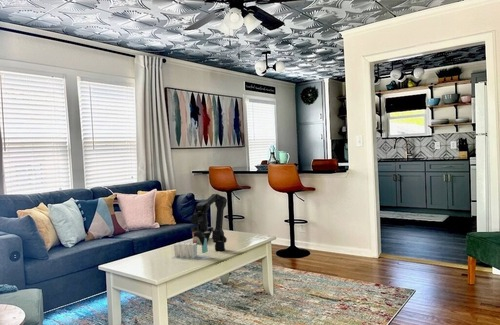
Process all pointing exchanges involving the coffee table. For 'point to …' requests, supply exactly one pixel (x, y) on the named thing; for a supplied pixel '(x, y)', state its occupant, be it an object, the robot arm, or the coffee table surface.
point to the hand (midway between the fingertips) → (204, 244)
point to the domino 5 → (204, 246)
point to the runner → (200, 257)
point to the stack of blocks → (196, 239)
